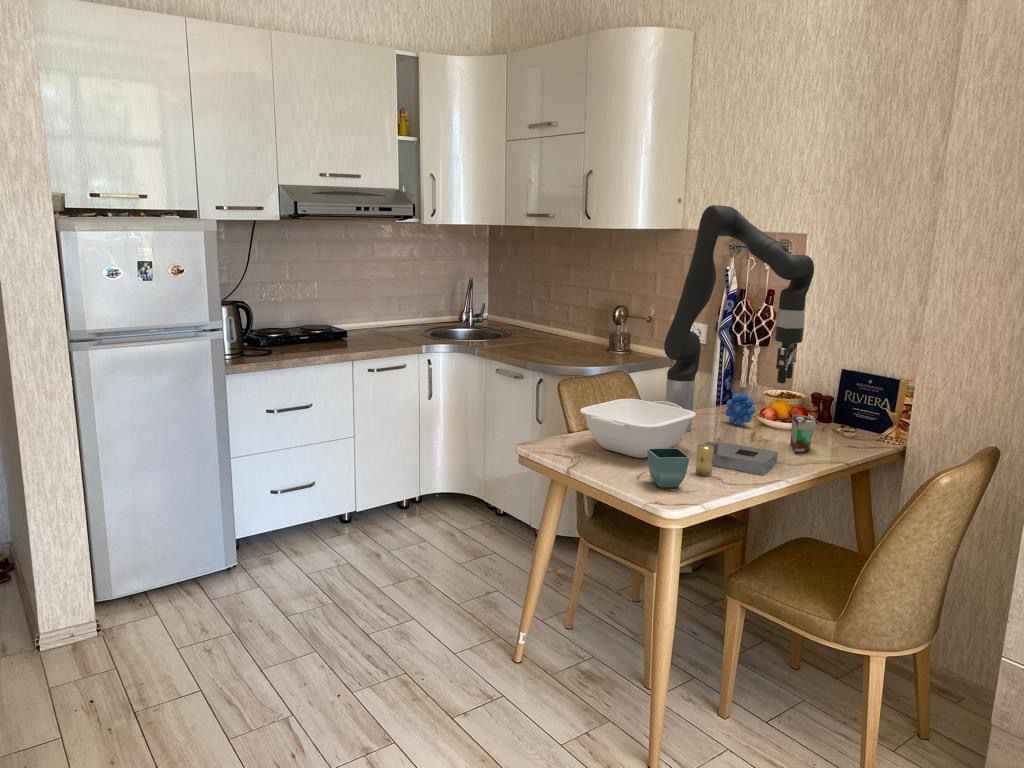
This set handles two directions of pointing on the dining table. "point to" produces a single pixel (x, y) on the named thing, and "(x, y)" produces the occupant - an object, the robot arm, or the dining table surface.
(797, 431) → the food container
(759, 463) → the plate
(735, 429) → the dining table surface
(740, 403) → the blue knobby disc
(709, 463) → the gold peg
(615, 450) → the white basin
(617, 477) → the dining table surface
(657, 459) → the flower pot
